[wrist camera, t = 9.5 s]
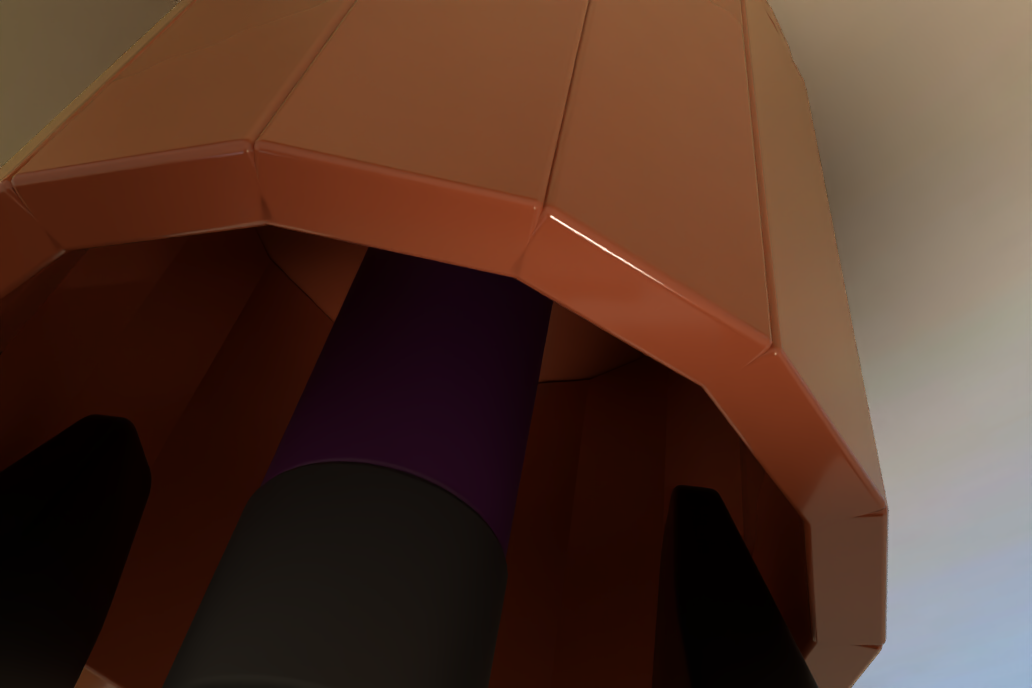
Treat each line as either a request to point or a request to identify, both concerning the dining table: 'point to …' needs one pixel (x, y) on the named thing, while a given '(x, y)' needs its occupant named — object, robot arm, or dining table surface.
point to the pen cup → (471, 244)
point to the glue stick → (384, 495)
